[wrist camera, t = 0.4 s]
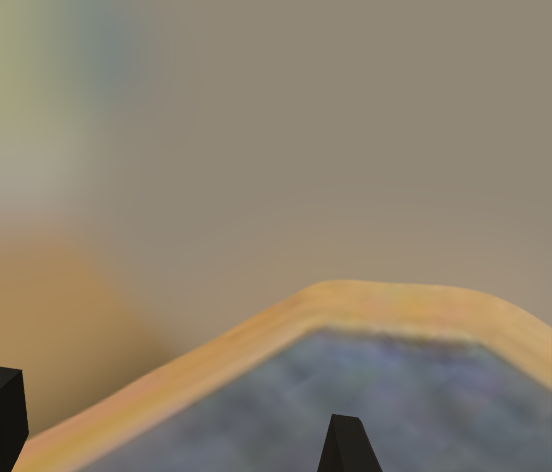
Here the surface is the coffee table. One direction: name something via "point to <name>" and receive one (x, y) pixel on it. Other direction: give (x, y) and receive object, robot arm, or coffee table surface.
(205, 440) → the coffee table surface
